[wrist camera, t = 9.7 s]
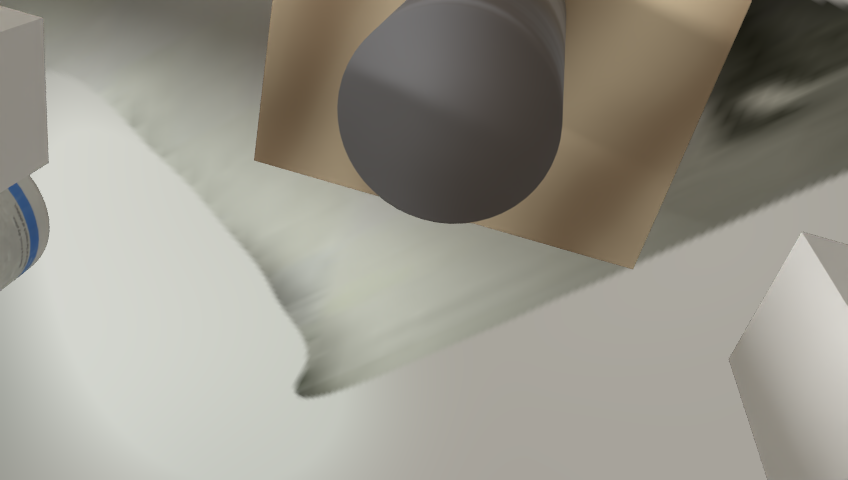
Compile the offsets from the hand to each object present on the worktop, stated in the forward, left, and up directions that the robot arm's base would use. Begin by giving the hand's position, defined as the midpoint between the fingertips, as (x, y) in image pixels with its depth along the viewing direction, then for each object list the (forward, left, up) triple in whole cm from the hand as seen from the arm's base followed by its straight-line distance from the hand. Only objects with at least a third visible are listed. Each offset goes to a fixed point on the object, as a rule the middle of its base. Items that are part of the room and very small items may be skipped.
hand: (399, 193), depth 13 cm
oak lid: (0, 0, -16) cm, 16 cm away
